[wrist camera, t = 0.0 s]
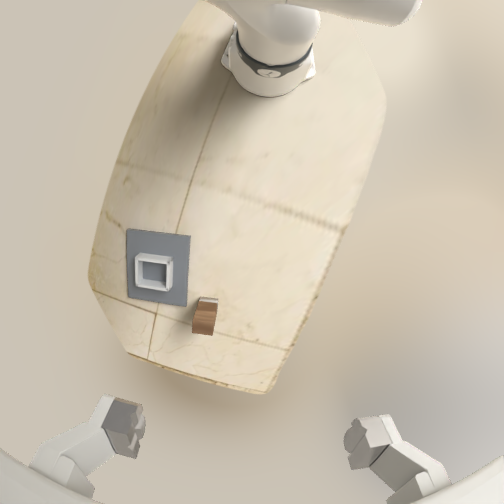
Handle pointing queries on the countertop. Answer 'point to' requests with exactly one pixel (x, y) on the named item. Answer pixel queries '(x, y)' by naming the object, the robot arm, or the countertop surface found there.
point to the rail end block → (205, 316)
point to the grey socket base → (158, 266)
